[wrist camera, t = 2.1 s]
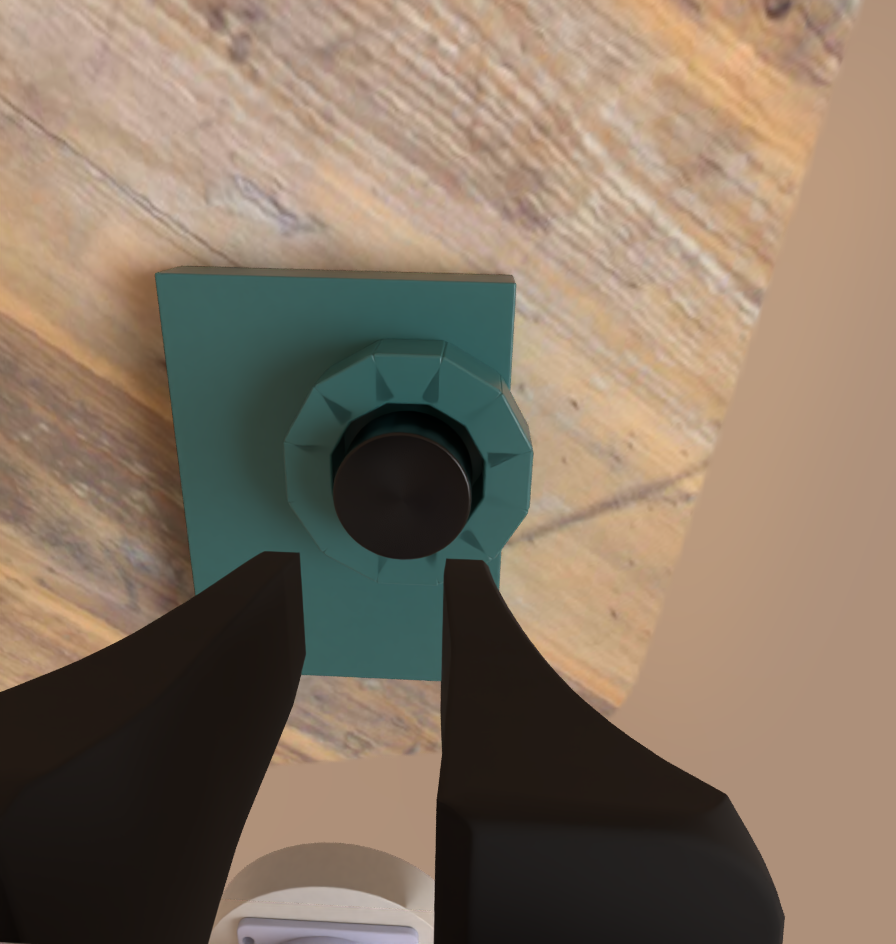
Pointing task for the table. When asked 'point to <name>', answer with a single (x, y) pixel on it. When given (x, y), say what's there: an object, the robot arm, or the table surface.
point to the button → (404, 486)
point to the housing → (339, 436)
